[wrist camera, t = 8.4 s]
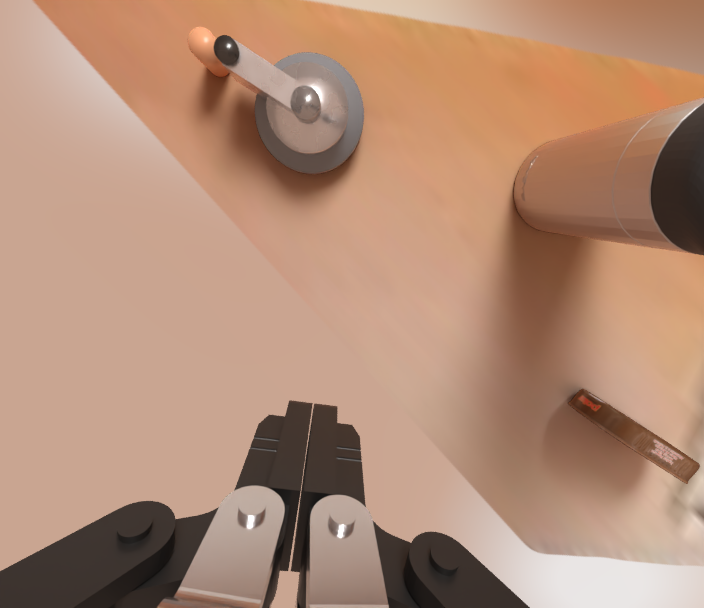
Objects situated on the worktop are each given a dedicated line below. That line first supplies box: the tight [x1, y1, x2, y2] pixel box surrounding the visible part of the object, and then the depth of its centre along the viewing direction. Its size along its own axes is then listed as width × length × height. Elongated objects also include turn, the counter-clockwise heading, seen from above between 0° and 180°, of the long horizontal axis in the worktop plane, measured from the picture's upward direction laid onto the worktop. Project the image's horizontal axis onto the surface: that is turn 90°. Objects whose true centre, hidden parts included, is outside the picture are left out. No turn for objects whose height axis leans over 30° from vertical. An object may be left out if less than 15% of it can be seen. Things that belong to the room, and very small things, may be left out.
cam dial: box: [214, 35, 348, 155], centre depth 30 cm, size 11×7×4 cm, turn 59°
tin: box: [568, 389, 700, 484], centre depth 41 cm, size 15×3×8 cm, turn 57°
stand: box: [188, 27, 364, 174], centre depth 33 cm, size 15×10×4 cm, turn 81°
